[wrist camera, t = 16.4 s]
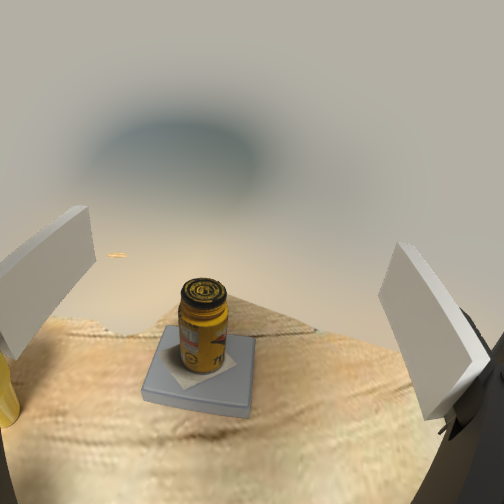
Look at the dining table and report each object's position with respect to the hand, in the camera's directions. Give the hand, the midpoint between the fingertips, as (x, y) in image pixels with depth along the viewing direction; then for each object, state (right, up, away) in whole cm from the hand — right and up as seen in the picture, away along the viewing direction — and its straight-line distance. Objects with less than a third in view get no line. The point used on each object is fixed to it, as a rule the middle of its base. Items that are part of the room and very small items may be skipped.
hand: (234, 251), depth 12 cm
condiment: (-7, -15, +27) cm, 32 cm away
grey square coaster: (-6, -17, +28) cm, 34 cm away
